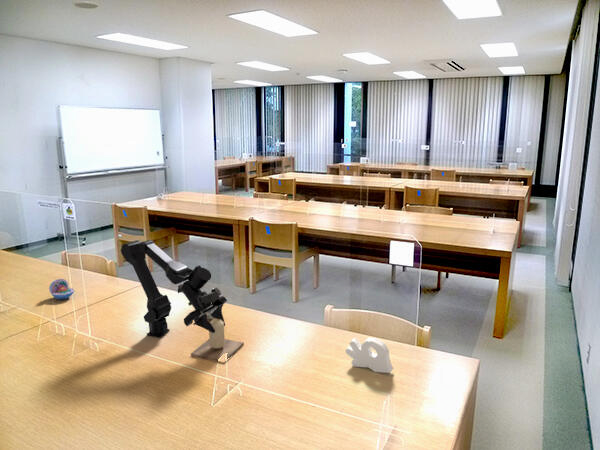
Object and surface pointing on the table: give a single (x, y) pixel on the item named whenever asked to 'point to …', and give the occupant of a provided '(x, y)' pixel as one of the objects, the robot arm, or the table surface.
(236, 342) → the walnut slab
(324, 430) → the table surface
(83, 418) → the table surface
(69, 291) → the cell model
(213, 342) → the candle
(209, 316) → the mineral rock
